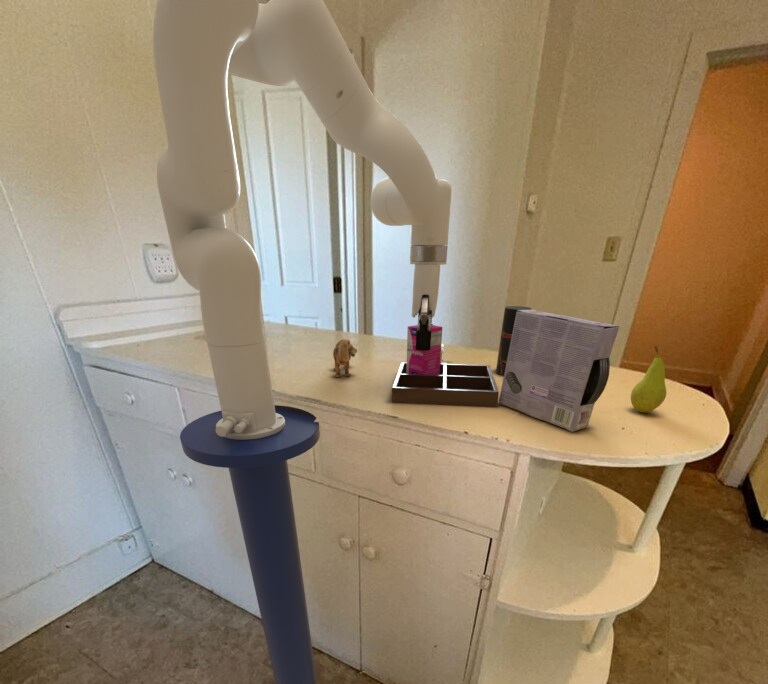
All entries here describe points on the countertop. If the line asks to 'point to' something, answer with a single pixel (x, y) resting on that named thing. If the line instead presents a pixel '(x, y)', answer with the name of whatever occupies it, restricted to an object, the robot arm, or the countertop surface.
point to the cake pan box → (557, 367)
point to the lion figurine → (343, 355)
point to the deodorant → (507, 336)
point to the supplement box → (424, 353)
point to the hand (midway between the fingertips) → (423, 345)
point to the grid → (447, 386)
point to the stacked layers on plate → (441, 355)
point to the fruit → (650, 387)
